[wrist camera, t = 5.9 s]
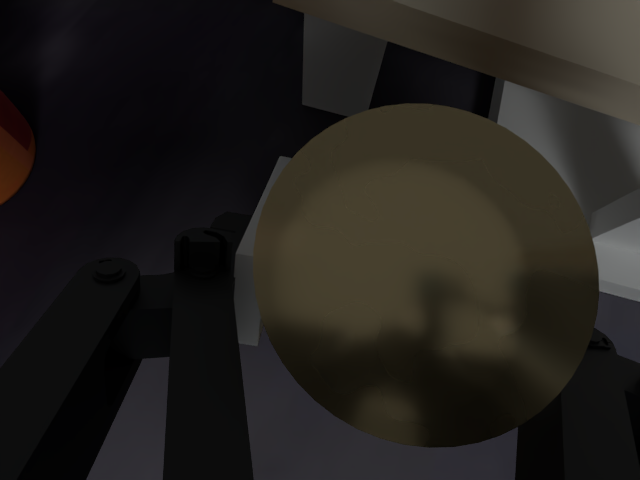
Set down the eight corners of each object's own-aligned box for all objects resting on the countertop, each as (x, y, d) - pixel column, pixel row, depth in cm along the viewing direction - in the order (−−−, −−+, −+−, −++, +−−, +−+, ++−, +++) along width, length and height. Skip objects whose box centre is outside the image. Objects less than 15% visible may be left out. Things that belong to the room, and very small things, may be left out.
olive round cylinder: (452, 338, 20) (669, 305, 8) (333, 427, 19) (393, 532, 7) (366, 222, 21) (454, 49, 9) (249, 300, 20) (185, 214, 8)
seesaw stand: (746, 20, 25) (950, -137, 17) (735, 327, 21) (998, 303, 13) (358, -79, 25) (385, -276, 18) (271, 203, 21) (257, 109, 13)
